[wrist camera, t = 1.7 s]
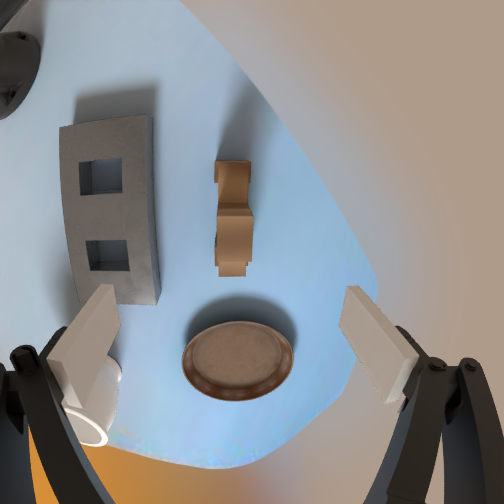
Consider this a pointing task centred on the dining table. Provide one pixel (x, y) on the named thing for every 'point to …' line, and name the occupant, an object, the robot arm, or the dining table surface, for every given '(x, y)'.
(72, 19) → the dining table surface
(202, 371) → the plant saucer
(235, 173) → the brown wooden branched block
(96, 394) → the jar
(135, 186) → the grey slotted base block
